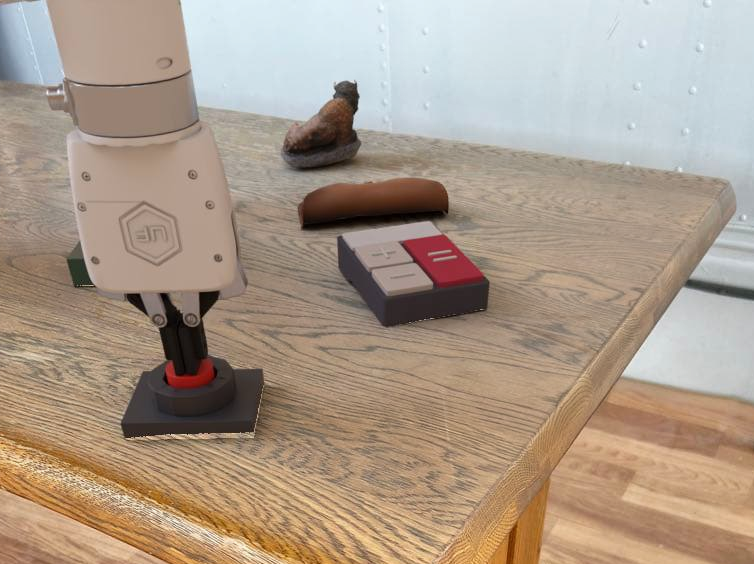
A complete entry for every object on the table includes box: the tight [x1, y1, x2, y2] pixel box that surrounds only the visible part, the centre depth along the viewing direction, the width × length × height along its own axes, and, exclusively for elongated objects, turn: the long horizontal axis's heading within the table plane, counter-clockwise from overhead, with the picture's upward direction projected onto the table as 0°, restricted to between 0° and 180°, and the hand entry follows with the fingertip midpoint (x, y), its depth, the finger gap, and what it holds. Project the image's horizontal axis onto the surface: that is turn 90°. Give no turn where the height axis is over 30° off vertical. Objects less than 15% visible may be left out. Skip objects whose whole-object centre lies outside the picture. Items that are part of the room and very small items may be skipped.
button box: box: [120, 354, 265, 439], centre depth 64 cm, size 10×8×4 cm
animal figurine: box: [279, 79, 362, 168], centre depth 112 cm, size 12×7×10 cm, turn 117°
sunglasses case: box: [297, 176, 450, 229], centre depth 98 cm, size 18×7×7 cm
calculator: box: [336, 220, 490, 328], centre depth 82 cm, size 11×4×15 cm
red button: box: [165, 358, 215, 389], centre depth 63 cm, size 4×4×2 cm
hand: (189, 366), depth 62 cm, fingers closed
